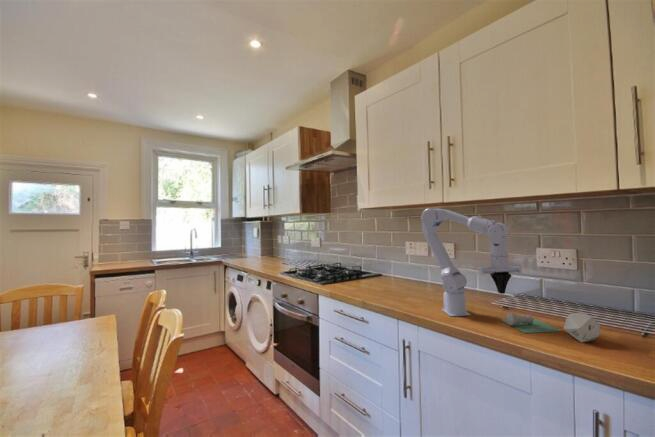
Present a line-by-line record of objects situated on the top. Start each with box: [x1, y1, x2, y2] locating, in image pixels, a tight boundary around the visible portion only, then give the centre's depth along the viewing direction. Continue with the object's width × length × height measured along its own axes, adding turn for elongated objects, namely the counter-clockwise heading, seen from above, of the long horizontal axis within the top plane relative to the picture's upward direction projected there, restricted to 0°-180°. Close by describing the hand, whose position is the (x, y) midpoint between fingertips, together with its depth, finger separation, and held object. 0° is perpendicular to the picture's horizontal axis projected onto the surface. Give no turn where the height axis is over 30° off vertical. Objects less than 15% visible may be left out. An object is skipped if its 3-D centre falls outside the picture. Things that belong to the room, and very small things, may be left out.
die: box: [563, 311, 601, 343], centre depth 92 cm, size 8×9×10 cm
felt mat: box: [500, 317, 562, 334], centre depth 106 cm, size 14×12×1 cm
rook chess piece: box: [505, 312, 534, 327], centre depth 106 cm, size 4×4×8 cm
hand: (501, 292), depth 111 cm, fingers closed
